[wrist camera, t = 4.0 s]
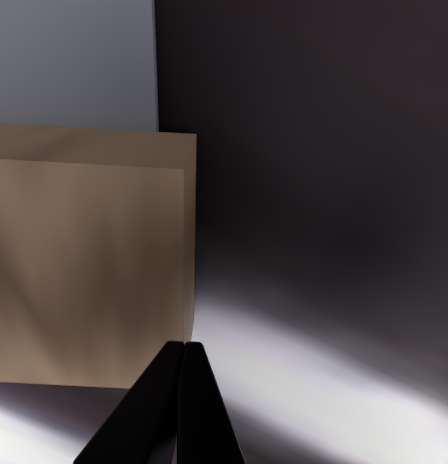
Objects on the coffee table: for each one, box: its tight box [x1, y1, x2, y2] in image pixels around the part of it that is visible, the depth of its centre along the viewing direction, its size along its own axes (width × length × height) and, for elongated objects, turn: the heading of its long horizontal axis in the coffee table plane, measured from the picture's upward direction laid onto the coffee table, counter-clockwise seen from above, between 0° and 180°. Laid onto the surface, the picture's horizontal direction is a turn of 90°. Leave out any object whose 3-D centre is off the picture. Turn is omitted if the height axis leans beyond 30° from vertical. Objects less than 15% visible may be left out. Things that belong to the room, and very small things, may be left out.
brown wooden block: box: [0, 123, 196, 388], centre depth 12 cm, size 8×4×9 cm
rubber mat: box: [0, 0, 159, 132], centre depth 14 cm, size 16×12×1 cm
